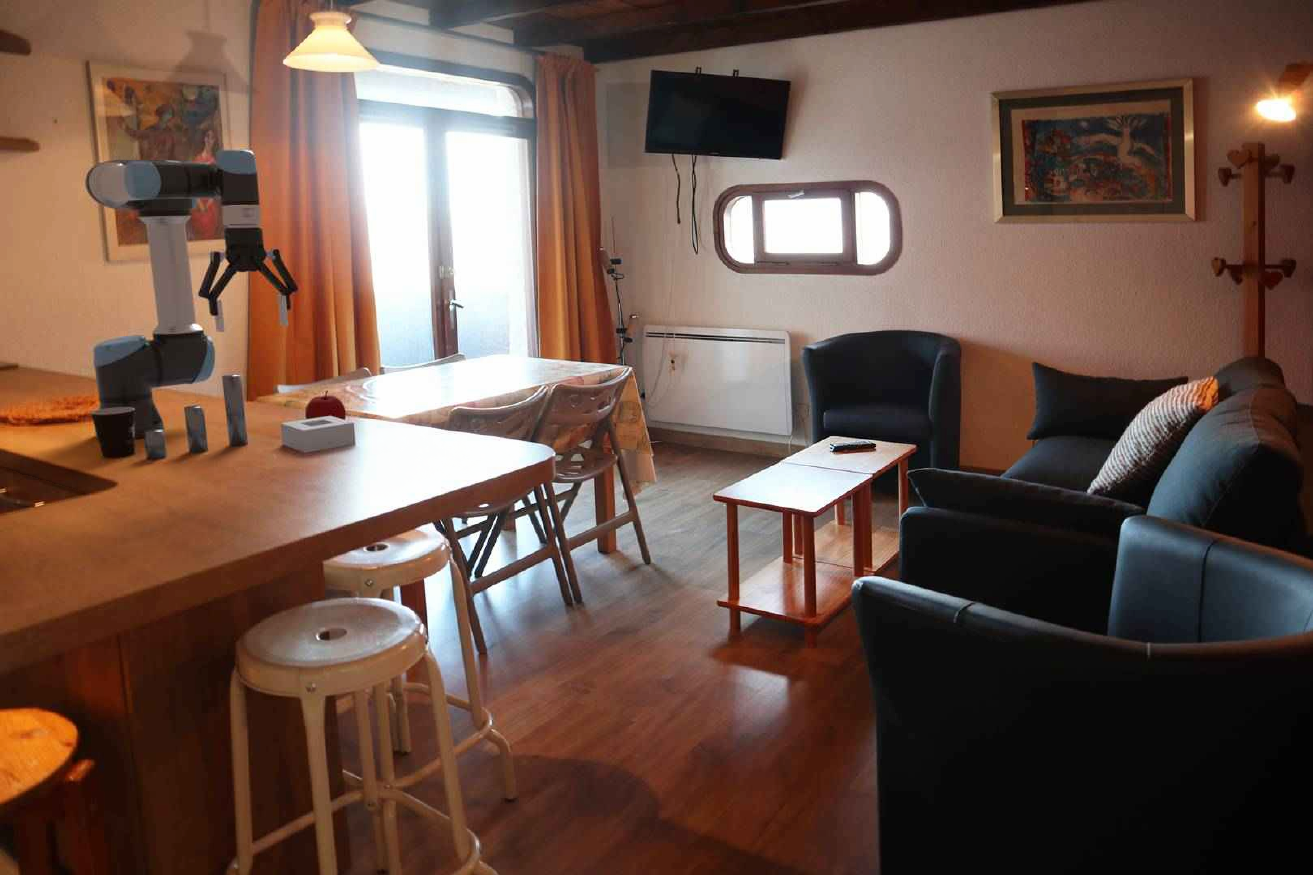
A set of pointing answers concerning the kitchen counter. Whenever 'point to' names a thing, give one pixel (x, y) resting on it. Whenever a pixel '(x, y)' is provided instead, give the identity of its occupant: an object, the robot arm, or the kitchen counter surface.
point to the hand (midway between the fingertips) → (253, 328)
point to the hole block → (318, 433)
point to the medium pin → (196, 429)
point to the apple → (325, 407)
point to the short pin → (155, 444)
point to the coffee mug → (115, 431)
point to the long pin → (235, 410)
